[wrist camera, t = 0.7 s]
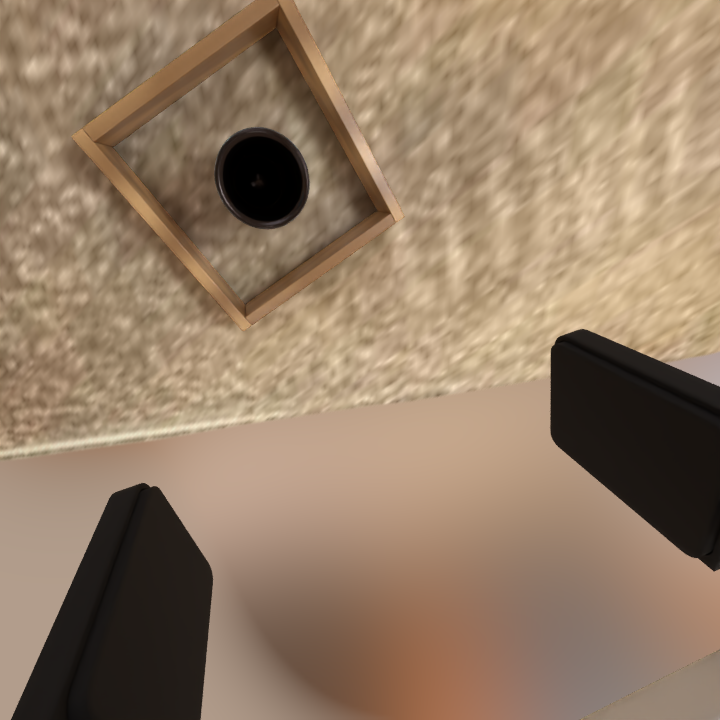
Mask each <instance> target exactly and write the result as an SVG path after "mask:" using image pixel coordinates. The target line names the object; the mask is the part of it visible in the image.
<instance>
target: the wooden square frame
mask: <svg viewBox="0 0 720 720" xmlns="http://www.w3.org/2000/svg"><path fill="white" fill-rule="evenodd" d="M275 28H277V30H278V32H279V34H280V35H281V37H282V39H283V41H284V43H285V44H286V46H287V48H288V50H289V52H290V54H291V55H292V57H293V59H294V61H295V63H296V64H297V66H298V68H299V70H300V72H301V74H302V75H303V77H304V79H305V81H306V83H307V84H308V86H309V88H310V90H311V92H312V93H313V95H314V97H315V99H316V101H317V103H318V104H319V106H320V108H321V110H322V112H323V113H324V115H325V117H326V119H327V121H328V123H329V124H330V126H331V128H332V130H333V132H334V133H335V135H336V137H337V139H338V141H339V142H340V144H341V146H342V148H343V150H344V152H345V153H346V155H347V157H348V159H349V161H350V162H351V164H352V166H353V168H354V170H355V172H356V173H357V175H358V177H359V179H360V181H361V182H362V184H363V186H364V188H365V190H366V192H367V193H368V195H369V197H370V199H371V201H372V202H373V204H374V206H375V208H376V210H377V211H376V212H374V213H373V214H371V215H370V216H369V217H367V218H366V219H364V220H363V221H362V222H360V223H359V224H357V225H356V226H355V227H353V228H352V229H350V230H349V231H348V232H346V233H345V234H343V235H342V236H341V237H339V238H338V239H336V240H335V241H334V242H332V243H331V244H329V245H328V246H327V247H325V248H324V249H322V250H321V251H320V252H318V253H317V254H315V255H314V256H313V257H311V258H310V259H308V260H307V261H306V262H304V263H303V264H301V265H300V266H299V267H297V268H296V269H294V270H293V271H292V272H290V273H289V274H287V275H286V276H285V277H283V278H282V279H280V280H279V281H278V282H276V283H275V284H273V285H272V286H271V287H269V288H268V289H266V290H265V291H264V292H262V293H261V294H259V295H258V296H257V297H255V298H254V299H252V300H251V301H250V302H248V303H247V304H246V305H245V304H244V303H243V302H242V301H241V299H240V298H239V297H238V296H237V295H236V293H235V292H234V291H233V290H232V289H231V287H230V286H229V285H228V284H227V283H226V281H225V280H224V279H223V278H222V277H221V276H220V274H219V273H218V272H217V271H216V270H215V268H214V267H213V266H212V265H211V264H210V262H209V261H208V260H207V259H206V258H205V257H204V255H203V254H202V253H201V252H200V251H199V249H198V248H197V247H196V246H195V245H194V243H193V242H192V241H191V240H190V239H189V238H188V236H187V235H186V234H185V233H184V232H183V230H182V229H181V228H180V227H179V226H178V224H177V223H176V222H175V221H174V220H173V218H172V217H171V216H170V215H169V214H168V213H167V211H166V210H165V209H164V208H163V207H162V205H161V204H160V203H159V202H158V201H157V199H156V198H155V197H154V196H153V195H152V194H151V192H150V191H149V190H148V189H147V188H146V186H145V185H144V184H143V183H142V182H141V180H140V179H139V178H138V177H137V176H136V175H135V173H134V172H133V171H132V170H131V169H130V167H129V166H128V165H127V164H126V163H125V161H124V160H123V159H122V158H121V157H120V155H119V154H118V153H117V152H116V151H115V150H114V148H113V147H114V146H115V145H117V144H118V143H119V142H121V141H122V140H123V139H125V138H126V137H128V136H129V135H130V134H132V133H133V132H134V131H136V130H137V129H138V128H140V127H141V126H143V125H144V124H145V123H147V122H148V121H149V120H151V119H152V118H153V117H155V116H156V115H158V114H159V113H160V112H162V111H163V110H164V109H166V108H167V107H168V106H170V105H171V104H173V103H174V102H175V101H177V100H178V99H179V98H181V97H182V96H183V95H185V94H186V93H187V92H189V91H190V90H192V89H193V88H194V87H196V86H197V85H198V84H200V83H201V82H202V81H204V80H205V79H207V78H208V77H209V76H211V75H212V74H213V73H215V72H216V71H217V70H219V69H220V68H222V67H223V66H224V65H226V64H227V63H228V62H230V61H231V60H232V59H234V58H235V57H237V56H238V55H239V54H241V53H242V52H243V51H245V50H246V49H247V48H249V47H250V46H252V45H253V44H254V43H256V42H257V41H258V40H260V39H261V38H262V37H264V36H265V35H267V34H268V33H269V32H271V31H272V30H273V29H275ZM72 138H73V140H74V141H75V142H76V143H77V144H78V145H79V146H80V148H81V149H82V150H83V151H84V152H85V153H86V154H87V155H88V157H89V158H90V159H91V160H92V161H93V162H94V163H95V165H96V166H97V167H98V168H99V169H100V170H101V171H102V172H103V174H104V175H105V176H106V177H107V178H108V179H109V180H110V182H111V183H112V184H113V185H114V186H115V187H116V188H117V189H118V191H119V192H120V193H121V194H122V195H123V196H124V197H125V199H126V200H127V201H128V202H129V203H130V204H131V205H132V206H133V208H134V209H135V210H136V211H137V212H138V213H139V214H140V216H141V217H142V218H143V219H144V220H145V221H146V222H147V223H148V225H149V226H150V227H151V228H152V229H153V230H154V231H155V233H156V234H157V235H158V236H159V237H160V238H161V239H162V240H163V242H164V243H165V244H166V245H167V246H168V247H169V248H170V250H171V251H172V252H173V253H174V254H175V255H176V256H177V257H178V259H179V260H180V261H181V262H182V263H183V264H184V265H185V267H186V268H187V269H188V270H189V271H190V272H191V273H192V274H193V276H194V277H195V278H196V279H197V280H198V281H199V282H200V284H201V285H202V286H203V287H204V288H205V289H206V290H207V291H208V293H209V294H210V295H211V296H212V297H213V298H214V299H215V301H216V302H217V303H218V304H219V305H220V306H221V307H222V308H223V310H224V311H225V312H226V313H227V314H228V315H229V316H230V318H231V319H232V320H233V321H234V322H235V323H236V324H237V325H238V327H239V328H240V329H241V330H242V331H245V330H246V329H247V328H249V327H250V326H251V325H253V324H254V323H256V322H257V321H259V320H260V319H261V318H263V317H264V316H266V315H267V314H269V313H270V312H271V311H273V310H274V309H276V308H277V307H278V306H280V305H281V304H283V303H284V302H285V301H287V300H288V299H290V298H291V297H292V296H294V295H295V294H297V293H298V292H299V291H301V290H302V289H304V288H305V287H306V286H308V285H309V284H311V283H312V282H313V281H315V280H316V279H318V278H319V277H321V276H322V275H323V274H325V273H326V272H328V271H329V270H330V269H332V268H333V267H335V266H336V265H337V264H339V263H340V262H342V261H343V260H344V259H346V258H347V257H349V256H350V255H351V254H353V253H354V252H356V251H357V250H358V249H360V248H361V247H363V246H364V245H366V244H367V243H368V242H370V241H371V240H373V239H374V238H375V237H377V236H378V235H380V234H381V233H382V232H384V231H385V230H387V229H388V228H389V227H391V226H392V225H394V224H395V222H398V221H399V220H401V219H402V218H404V217H405V216H404V214H403V212H402V210H401V208H400V206H399V204H398V202H397V200H396V198H395V196H394V195H393V193H392V191H391V189H390V187H389V185H388V183H387V181H386V179H385V177H384V175H383V173H382V171H381V169H380V167H379V166H378V164H377V162H376V160H375V158H374V156H373V154H372V152H371V150H370V148H369V146H368V144H367V142H366V140H365V138H364V136H363V135H362V133H361V131H360V129H359V127H358V125H357V123H356V121H355V119H354V117H353V115H352V113H351V111H350V109H349V107H348V106H347V104H346V102H345V100H344V98H343V96H342V94H341V92H340V90H339V88H338V86H337V84H336V82H335V80H334V78H333V76H332V75H331V73H330V71H329V69H328V67H327V65H326V63H325V61H324V59H323V57H322V55H321V53H320V51H319V49H318V47H317V46H316V44H315V42H314V40H313V38H312V36H311V34H310V32H309V30H308V28H307V26H306V24H305V22H304V20H303V18H302V16H301V15H300V13H299V11H298V9H297V7H296V5H295V3H294V1H293V0H255V1H254V2H252V3H251V4H250V5H248V6H247V7H245V8H244V9H243V10H241V11H240V12H239V13H237V14H236V15H235V16H233V17H232V18H231V19H229V20H228V21H226V22H225V23H224V24H222V25H221V26H220V27H218V28H217V29H216V30H214V31H213V32H212V33H210V34H209V35H207V36H206V37H205V38H203V39H202V40H201V41H199V42H198V43H197V44H195V45H194V46H193V47H191V48H190V49H189V50H187V51H186V52H184V53H183V54H182V55H180V56H179V57H178V58H176V59H175V60H174V61H172V62H171V63H170V64H168V65H167V66H165V67H164V68H163V69H161V70H160V71H159V72H157V73H156V74H155V75H153V76H152V77H151V78H149V79H148V80H146V81H145V82H144V83H142V84H141V85H140V86H138V87H137V88H136V89H134V90H133V91H132V92H130V93H129V94H127V95H126V96H125V97H123V98H122V99H121V100H119V101H118V102H117V103H115V104H114V105H113V106H111V107H110V108H108V109H107V110H106V111H104V112H103V113H102V114H100V115H99V116H98V117H96V118H95V119H94V120H92V121H91V122H89V123H88V124H87V125H85V126H84V127H83V129H80V130H79V131H78V132H76V133H75V134H73V135H72Z"/></svg>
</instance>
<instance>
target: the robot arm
mask: <svg viewBox="0 0 720 720" xmlns="http://www.w3.org/2000/svg"><path fill="white" fill-rule="evenodd" d="M551 436H552V439H553V441H554V442H555V444H556V445H557V446H558V447H559V448H560V449H562V450H563V451H564V452H565V453H566V454H567V455H569V456H570V457H571V458H572V459H574V460H575V461H576V462H577V463H578V464H579V465H581V466H582V467H583V468H584V469H585V470H586V471H588V472H589V473H590V474H591V475H592V476H594V477H595V478H596V479H597V480H598V481H599V482H601V483H602V484H603V485H604V486H605V487H607V488H608V489H609V490H610V491H612V492H613V493H614V494H615V495H616V496H617V497H618V498H620V499H621V500H622V501H623V502H624V503H625V504H627V505H628V506H629V507H630V508H631V509H633V510H634V511H635V512H636V513H637V514H638V515H640V516H641V517H642V518H643V519H644V520H646V521H647V522H648V523H649V524H650V525H652V526H653V527H654V528H655V529H656V530H658V531H659V532H660V533H661V534H662V535H664V536H665V537H666V538H667V539H668V540H669V541H670V542H672V543H673V544H674V545H675V546H676V547H678V548H679V549H680V550H681V551H683V552H684V553H685V554H687V555H689V556H691V557H694V558H698V559H700V560H701V561H702V562H703V563H704V564H706V565H707V566H708V567H709V568H710V569H712V570H713V571H716V570H718V569H720V387H719V386H717V385H714V384H712V383H710V382H707V381H705V380H703V379H700V378H698V377H696V376H693V375H691V374H689V373H686V372H684V371H682V370H679V369H677V368H675V367H672V366H670V365H668V364H665V363H663V362H661V361H658V360H656V359H654V358H651V357H649V356H647V355H644V354H642V353H640V352H637V351H635V350H633V349H630V348H628V347H626V346H623V345H621V344H619V343H616V342H614V341H612V340H609V339H607V338H605V337H602V336H600V335H598V334H595V333H593V332H591V331H588V330H585V329H580V330H577V331H574V332H571V333H568V334H565V335H563V336H560V337H558V338H557V340H556V342H555V345H554V346H552V348H551ZM212 586H213V576H212V570H211V568H210V565H209V563H208V562H207V560H206V559H205V557H204V556H203V554H202V553H201V551H200V550H199V548H198V546H197V545H196V543H195V542H194V540H193V539H192V537H191V536H190V534H189V533H188V531H187V530H186V529H185V527H184V525H183V524H182V522H181V520H180V519H179V517H178V516H177V515H176V513H175V511H174V510H173V508H172V507H171V505H170V504H169V502H168V501H167V499H166V498H165V496H164V495H163V493H162V492H161V490H160V489H159V488H158V487H156V486H153V487H149V485H147V484H145V483H141V484H138V485H135V486H132V487H129V488H126V489H124V490H121V491H118V492H115V493H114V494H112V495H111V497H110V498H109V501H108V503H107V505H106V507H105V510H104V512H103V514H102V516H101V519H100V521H99V523H98V525H97V528H96V530H95V532H94V534H93V537H92V539H91V541H90V543H89V545H88V548H87V550H86V552H85V554H84V557H83V559H82V561H81V563H80V566H79V568H78V570H77V573H76V575H75V577H74V579H73V581H72V584H71V586H70V588H69V590H68V593H67V595H66V597H65V599H64V602H63V604H62V606H61V608H60V611H59V613H58V615H57V617H56V620H55V622H54V624H53V627H52V629H51V631H50V633H49V636H48V638H47V640H46V642H45V644H44V647H43V649H42V651H41V653H40V656H39V658H38V660H37V662H36V665H35V667H34V669H33V672H32V674H31V676H30V678H29V680H28V683H27V685H26V687H25V689H24V692H23V694H22V696H21V698H20V701H19V703H18V705H17V708H16V710H15V712H14V714H13V717H12V719H11V720H200V718H201V707H202V697H203V685H204V675H205V664H206V652H207V641H208V629H209V619H210V608H211V597H212ZM580 720H720V650H718V651H716V652H714V653H712V654H710V655H708V656H706V657H704V658H702V659H700V660H698V661H696V662H694V663H692V664H690V665H687V666H686V667H683V668H681V669H679V670H678V671H675V672H673V673H671V674H669V675H667V676H665V677H663V678H661V679H659V680H657V681H656V682H653V683H652V684H649V685H648V686H645V687H643V688H641V689H639V690H638V691H636V692H634V693H632V694H630V695H628V696H626V697H624V698H622V699H620V700H618V701H616V702H614V703H612V704H610V705H608V706H606V707H604V708H602V709H600V710H598V711H596V712H594V713H592V714H590V715H588V716H586V717H584V718H582V719H580Z"/></svg>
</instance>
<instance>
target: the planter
mask: <svg viewBox="0 0 720 720" xmlns="http://www.w3.org/2000/svg"><path fill="white" fill-rule="evenodd" d="M214 176H215V184H216V188H217V191H218V194H219V196H220V198H221V200H222V202H223V204H224V205H225V207H226V208H227V209H228V210H229V212H230V213H231V214H232V215H233V216H235V217H236V218H237V219H238V220H240V221H241V222H243V223H245V224H247V225H249V226H252V227H255V228H259V229H275V228H279V227H282V226H284V225H286V224H288V223H290V222H291V221H293V220H294V219H295V218H296V217H297V216H298V215H299V214H300V212H301V211H302V209H303V208H304V206H305V204H306V201H307V198H308V194H309V186H310V181H309V173H308V169H307V165H306V163H305V160H304V158H303V156H302V154H301V153H300V151H299V150H298V148H297V147H296V146H295V145H294V144H293V143H292V142H291V141H290V140H289V139H288V138H287V137H285V136H284V135H282V134H280V133H279V132H277V131H274V130H271V129H268V128H263V127H251V128H246V129H243V130H240V131H238V132H236V133H235V134H233V135H232V136H231V137H229V138H228V139H227V140H226V141H225V143H224V144H223V145H222V147H221V149H220V151H219V153H218V155H217V158H216V162H215V170H214Z"/></svg>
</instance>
